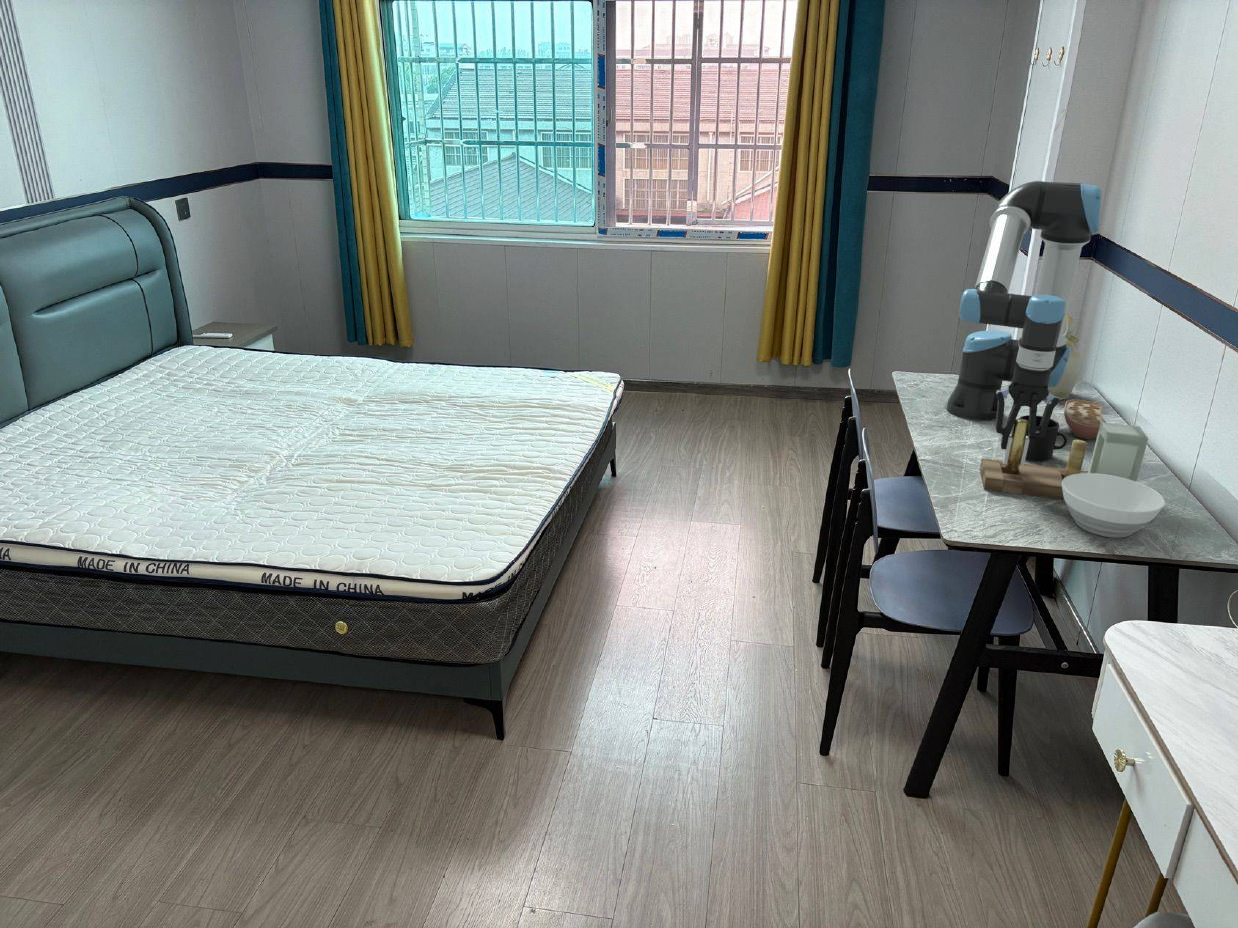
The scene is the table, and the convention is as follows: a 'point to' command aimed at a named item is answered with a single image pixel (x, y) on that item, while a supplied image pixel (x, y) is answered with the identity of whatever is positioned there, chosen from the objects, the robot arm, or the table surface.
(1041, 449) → the mug
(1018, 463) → the pin
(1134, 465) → the housing
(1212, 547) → the table surface
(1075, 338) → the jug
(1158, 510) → the bowl
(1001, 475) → the wooden slotted block
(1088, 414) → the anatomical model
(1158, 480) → the table surface
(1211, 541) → the table surface
